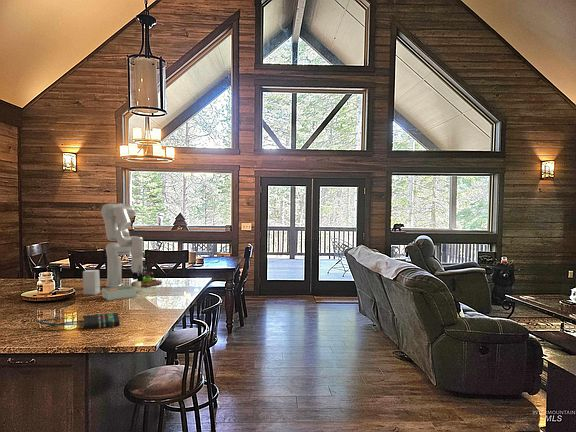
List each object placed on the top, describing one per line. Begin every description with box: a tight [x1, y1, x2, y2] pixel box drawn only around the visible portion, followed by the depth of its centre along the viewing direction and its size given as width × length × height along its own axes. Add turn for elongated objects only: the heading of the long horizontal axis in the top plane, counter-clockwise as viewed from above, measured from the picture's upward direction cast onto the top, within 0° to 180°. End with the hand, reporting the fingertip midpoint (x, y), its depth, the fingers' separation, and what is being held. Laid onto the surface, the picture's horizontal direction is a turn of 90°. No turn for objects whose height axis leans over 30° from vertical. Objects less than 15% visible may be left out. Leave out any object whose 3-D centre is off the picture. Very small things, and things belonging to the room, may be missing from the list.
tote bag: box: [38, 312, 121, 332], centre depth 201 cm, size 21×5×35 cm
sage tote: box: [101, 284, 137, 302], centre depth 262 cm, size 13×17×6 cm
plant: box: [130, 270, 163, 288], centre depth 303 cm, size 20×20×11 cm
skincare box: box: [82, 269, 101, 296], centre depth 270 cm, size 8×7×16 cm
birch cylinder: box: [132, 280, 142, 294], centre depth 277 cm, size 5×5×7 cm
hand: (137, 280), depth 277 cm, fingers open, 9 cm apart
